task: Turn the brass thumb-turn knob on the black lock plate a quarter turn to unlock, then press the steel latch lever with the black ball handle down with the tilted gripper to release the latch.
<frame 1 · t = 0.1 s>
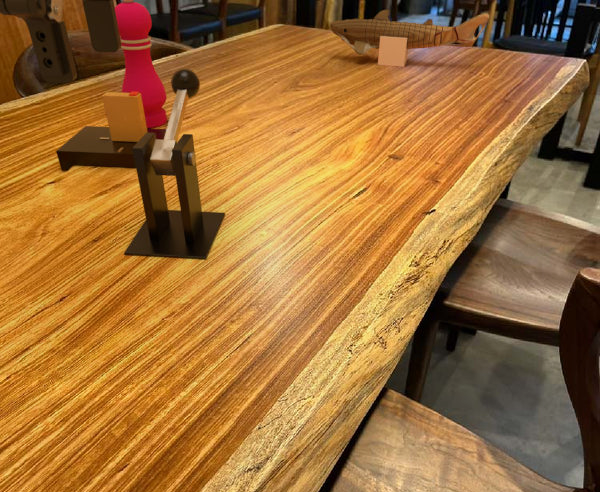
hand: (86, 65, 40), 22 cm above the table, tool pointing down, fingers open, 8 cm apart
wood carving: (401, 64, 125), on the table
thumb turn: (125, 116, 76), point 6 cm above the table, hinge at 0.0°
latch lever: (176, 118, 58), point 12 cm above the table, hinge at 25.0°
pepper mill: (149, 123, 93), on the table
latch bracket: (178, 240, 62), on the table
lock plate: (121, 159, 80), on the table
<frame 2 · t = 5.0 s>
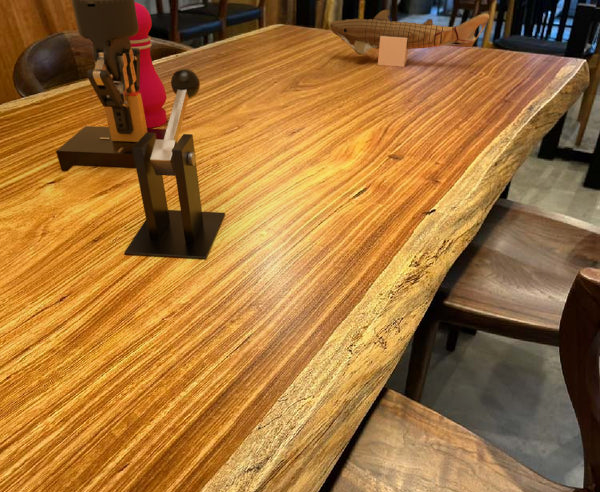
hand: (128, 129, 77), 5 cm above the table, tool pointing down, fingers closed on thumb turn
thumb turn: (125, 116, 76), point 6 cm above the table, hinge at 0.1°, touching gripper
everything else where it was.
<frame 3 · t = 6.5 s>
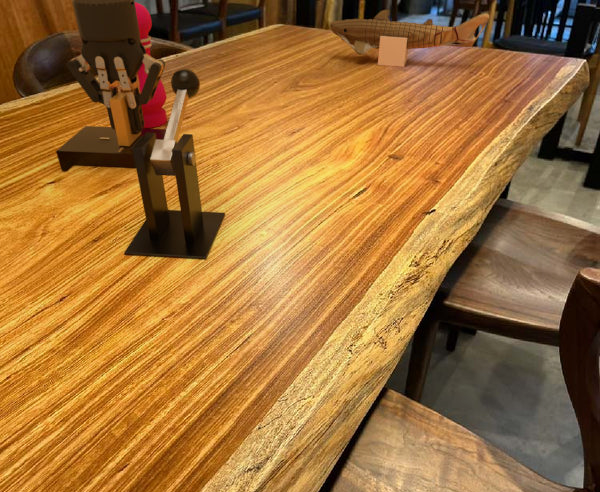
hand: (129, 131, 77), 4 cm above the table, tool pointing down, fingers closed
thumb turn: (125, 116, 76), point 6 cm above the table, hinge at 89.2°
everything else where it was.
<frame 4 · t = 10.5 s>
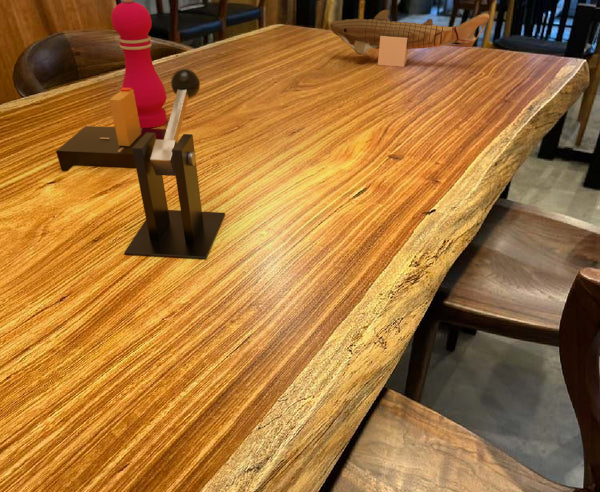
nothing on the table moved.
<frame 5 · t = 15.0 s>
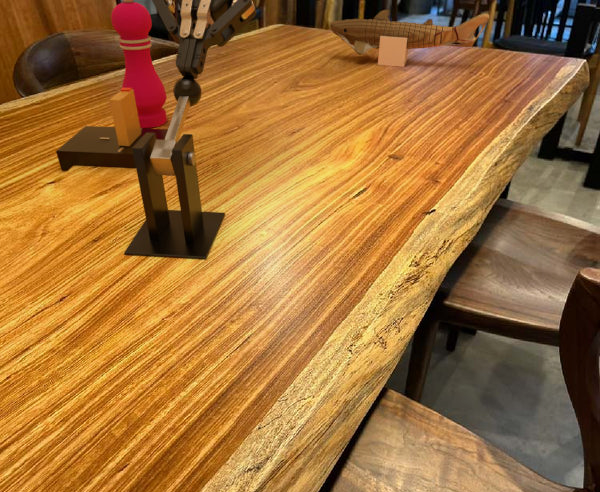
hand: (187, 74, 61), 15 cm above the table, tool tilted 45°, fingers closed
latch lever: (177, 122, 59), point 12 cm above the table, hinge at 19.3°, touching gripper
everything else where it was.
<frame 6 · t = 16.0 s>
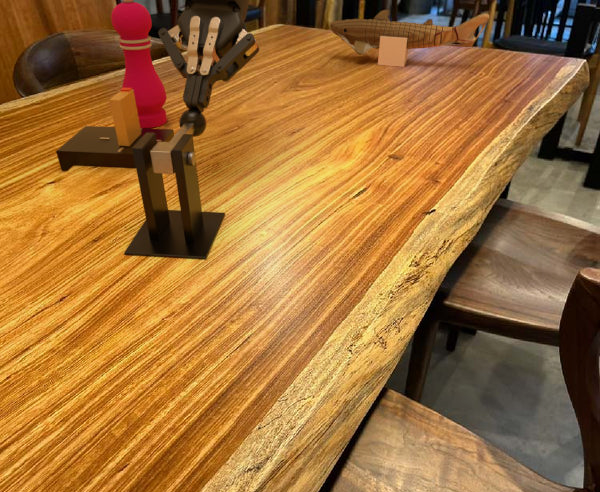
hand: (194, 109, 64), 11 cm above the table, tool tilted 45°, fingers closed
latch lever: (180, 138, 60), point 10 cm above the table, hinge at -1.0°, touching gripper
everything else where it was.
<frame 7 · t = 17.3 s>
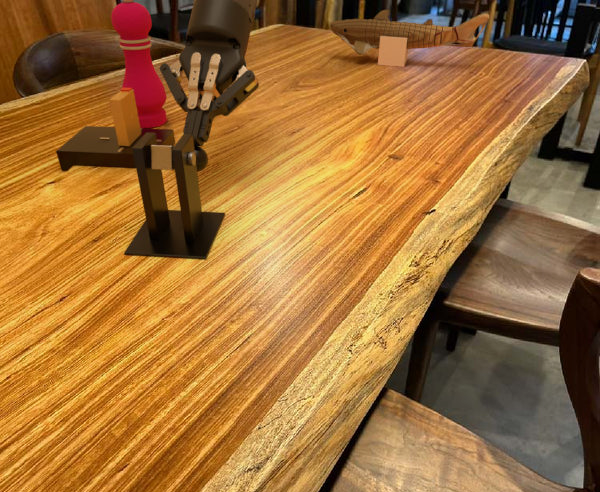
hand: (194, 143, 65), 8 cm above the table, tool tilted 45°, fingers closed
latch lever: (182, 158, 61), point 8 cm above the table, hinge at -23.3°, touching gripper
everything else where it was.
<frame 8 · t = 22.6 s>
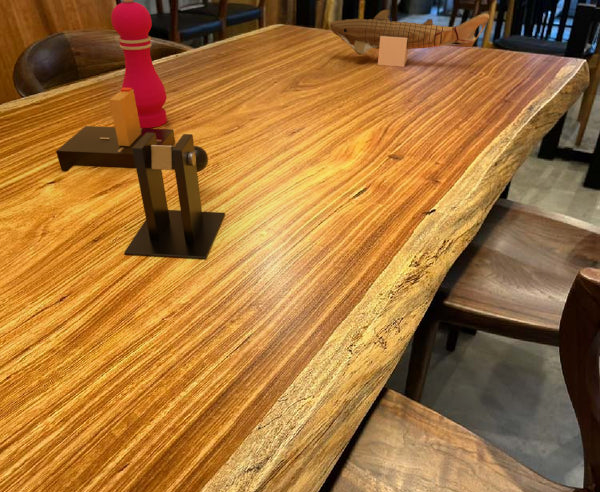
latch lever: (182, 158, 61), point 8 cm above the table, hinge at -23.4°
everything else where it was.
at the end: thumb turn at +89° (first picture: +0°); latch lever at -23° (first picture: +25°) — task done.
